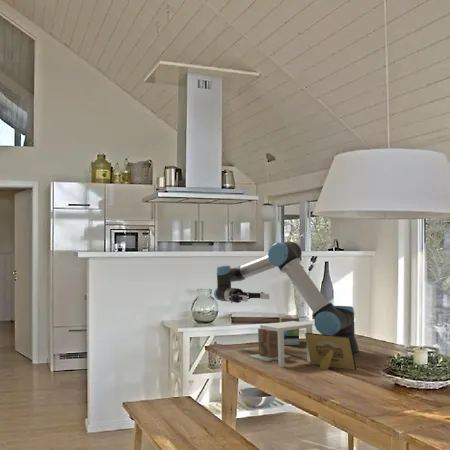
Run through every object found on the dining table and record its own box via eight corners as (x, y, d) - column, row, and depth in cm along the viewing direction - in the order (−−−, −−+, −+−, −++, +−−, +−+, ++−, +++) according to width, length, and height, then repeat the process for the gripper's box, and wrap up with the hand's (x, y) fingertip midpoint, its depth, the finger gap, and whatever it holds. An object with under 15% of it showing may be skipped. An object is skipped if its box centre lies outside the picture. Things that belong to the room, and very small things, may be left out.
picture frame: (356, 369, 267) (353, 335, 266) (345, 375, 261) (342, 340, 260) (312, 363, 283) (309, 331, 282) (301, 368, 276) (298, 336, 275)
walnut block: (258, 355, 302) (258, 328, 302) (268, 353, 305) (267, 327, 305) (269, 357, 294) (269, 330, 294) (279, 356, 297) (279, 329, 298)
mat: (249, 357, 302) (249, 355, 302) (272, 353, 309) (272, 351, 309) (266, 361, 290) (266, 359, 290) (289, 357, 297) (289, 356, 297)
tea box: (300, 345, 331) (299, 317, 332) (281, 345, 332) (280, 318, 332) (297, 340, 346) (296, 314, 347) (279, 340, 347) (278, 314, 347)
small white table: (261, 362, 288) (260, 325, 289) (294, 356, 299) (293, 320, 299) (280, 367, 276) (279, 328, 276) (314, 361, 287) (313, 324, 287)
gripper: (253, 300, 334) (277, 303, 316) (214, 304, 320) (237, 307, 302) (253, 286, 334) (277, 288, 316) (214, 289, 320) (237, 292, 302)
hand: (257, 297), depth 309 cm, fingers open, 13 cm apart
